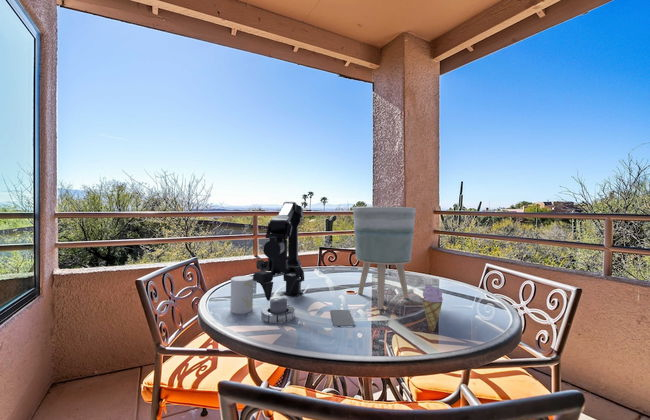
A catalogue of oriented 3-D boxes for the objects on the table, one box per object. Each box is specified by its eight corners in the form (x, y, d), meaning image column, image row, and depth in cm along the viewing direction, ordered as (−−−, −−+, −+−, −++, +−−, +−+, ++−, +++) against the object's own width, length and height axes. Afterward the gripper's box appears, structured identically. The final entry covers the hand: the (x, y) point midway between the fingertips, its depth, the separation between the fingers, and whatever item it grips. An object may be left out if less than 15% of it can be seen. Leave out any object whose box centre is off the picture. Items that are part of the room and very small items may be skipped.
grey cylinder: (246, 314, 104) (247, 281, 104) (226, 312, 106) (226, 280, 106) (256, 307, 112) (256, 276, 112) (237, 305, 114) (237, 275, 114)
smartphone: (333, 325, 94) (329, 309, 109) (332, 328, 94) (329, 312, 109) (355, 325, 95) (349, 309, 110) (355, 328, 95) (349, 312, 110)
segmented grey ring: (279, 309, 110) (279, 302, 110) (300, 316, 103) (301, 309, 103) (254, 317, 101) (255, 310, 101) (276, 326, 94) (277, 318, 94)
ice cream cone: (418, 326, 96) (418, 281, 96) (435, 325, 97) (436, 281, 97) (426, 334, 90) (427, 286, 90) (445, 334, 90) (446, 286, 90)
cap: (278, 313, 106) (279, 295, 106) (290, 316, 103) (290, 298, 103) (266, 317, 102) (266, 298, 102) (277, 321, 98) (278, 302, 98)
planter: (418, 297, 130) (420, 208, 130) (406, 315, 106) (408, 207, 106) (363, 288, 142) (364, 207, 142) (341, 303, 118) (343, 206, 119)
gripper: (282, 249, 114) (282, 288, 114) (243, 254, 100) (242, 298, 100) (303, 252, 107) (302, 293, 107) (264, 257, 93) (263, 305, 93)
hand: (278, 297), depth 102 cm, fingers open, 9 cm apart
